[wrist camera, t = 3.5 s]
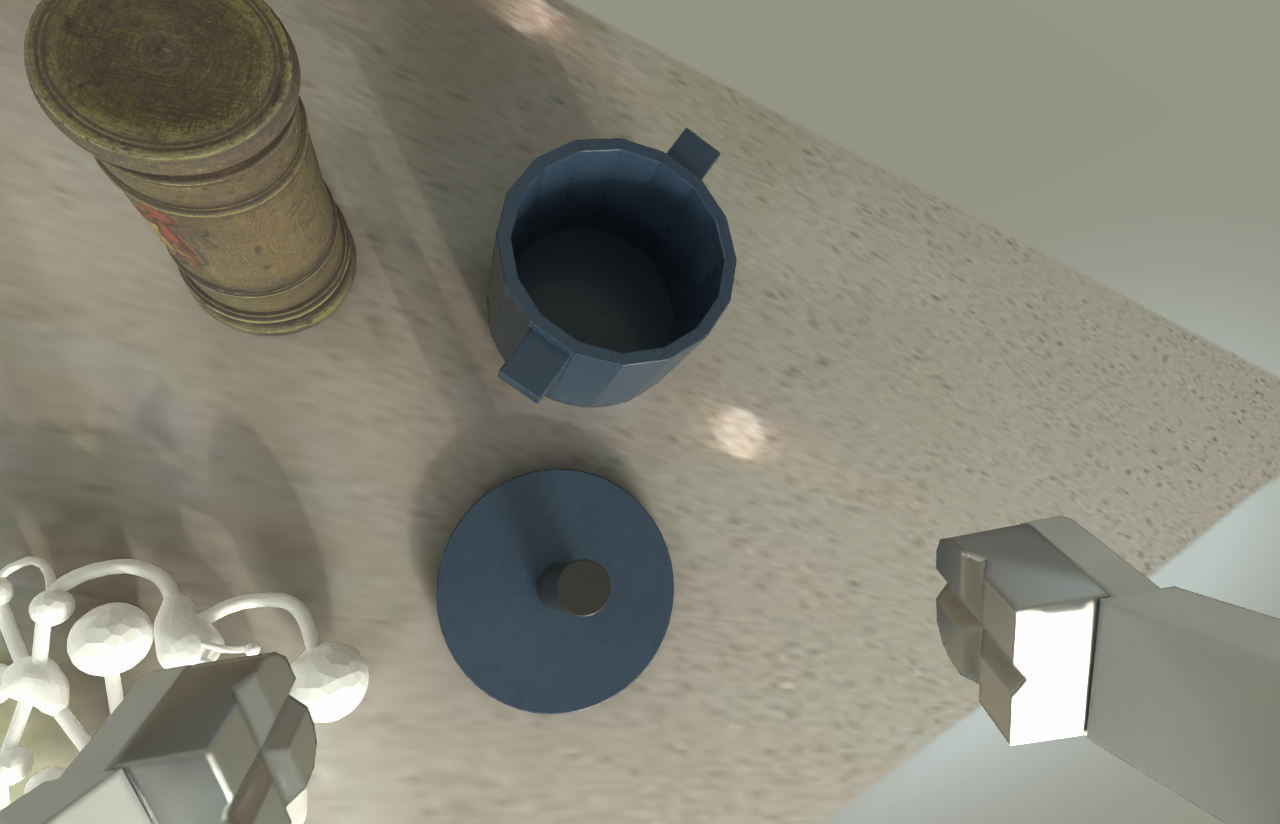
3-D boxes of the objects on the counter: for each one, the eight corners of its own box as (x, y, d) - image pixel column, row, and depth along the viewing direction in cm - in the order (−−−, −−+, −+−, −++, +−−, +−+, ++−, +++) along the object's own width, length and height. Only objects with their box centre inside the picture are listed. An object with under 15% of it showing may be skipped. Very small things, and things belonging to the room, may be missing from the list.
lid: (385, 624, 39) (369, 634, 31) (528, 427, 44) (547, 392, 36) (588, 759, 41) (623, 802, 32) (708, 553, 45) (766, 547, 37)
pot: (417, 362, 43) (410, 303, 34) (585, 158, 49) (616, 63, 40) (590, 482, 44) (627, 457, 35) (734, 269, 50) (797, 200, 41)
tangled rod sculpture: (-148, 782, 33) (-235, 816, 29) (28, 490, 37) (-29, 485, 33) (262, 920, 36) (233, 969, 32) (394, 633, 39) (383, 645, 35)
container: (340, 183, 44) (275, -65, 27) (372, 322, 43) (326, 152, 26) (173, 203, 42) (-13, -59, 25) (202, 352, 40) (26, 183, 23)
